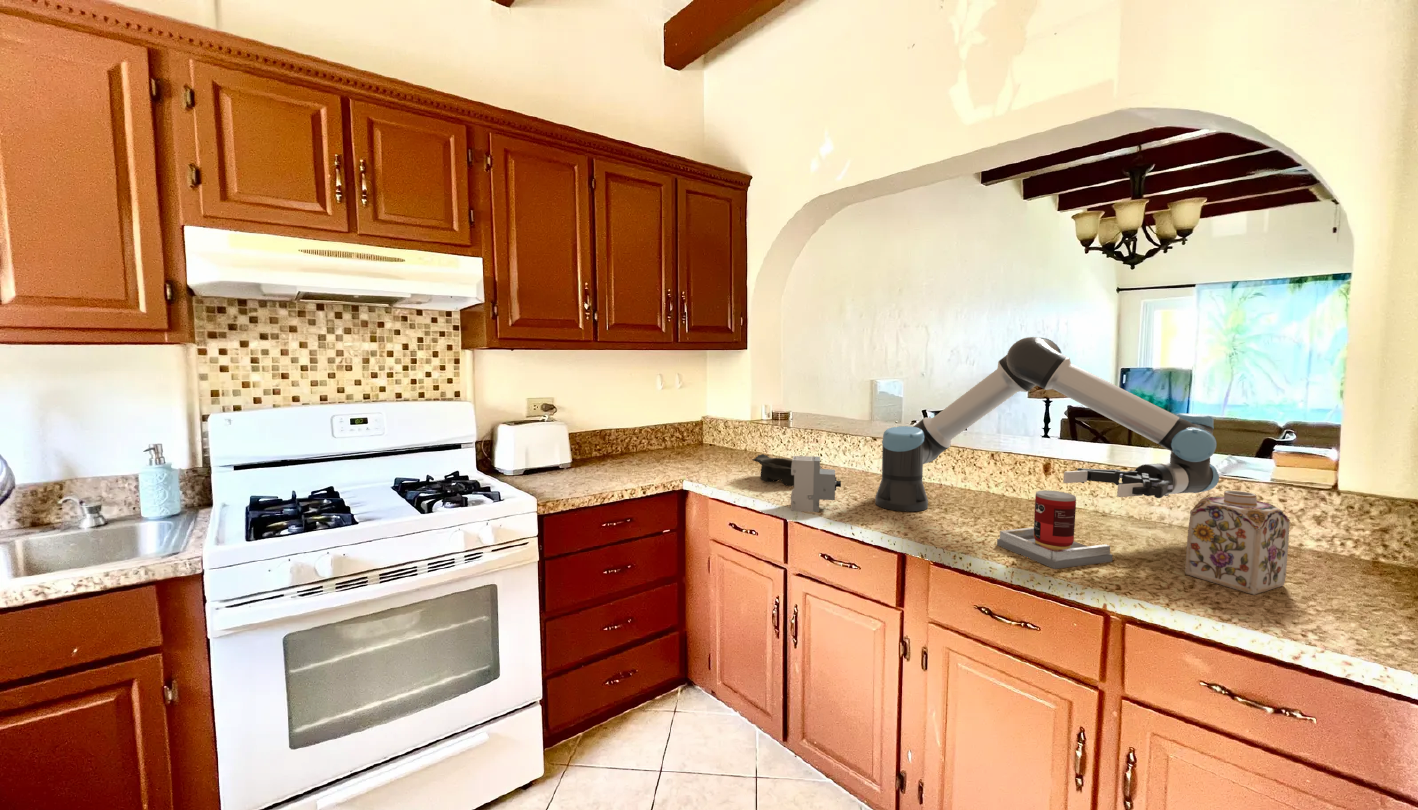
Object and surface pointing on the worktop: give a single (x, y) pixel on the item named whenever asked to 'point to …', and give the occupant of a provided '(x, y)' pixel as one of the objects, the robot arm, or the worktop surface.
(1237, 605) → the worktop surface
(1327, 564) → the worktop surface
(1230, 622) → the worktop surface
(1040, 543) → the button
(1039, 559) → the switch base
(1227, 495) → the decorative jar
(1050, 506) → the canned food
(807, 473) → the circuit breaker
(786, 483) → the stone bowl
